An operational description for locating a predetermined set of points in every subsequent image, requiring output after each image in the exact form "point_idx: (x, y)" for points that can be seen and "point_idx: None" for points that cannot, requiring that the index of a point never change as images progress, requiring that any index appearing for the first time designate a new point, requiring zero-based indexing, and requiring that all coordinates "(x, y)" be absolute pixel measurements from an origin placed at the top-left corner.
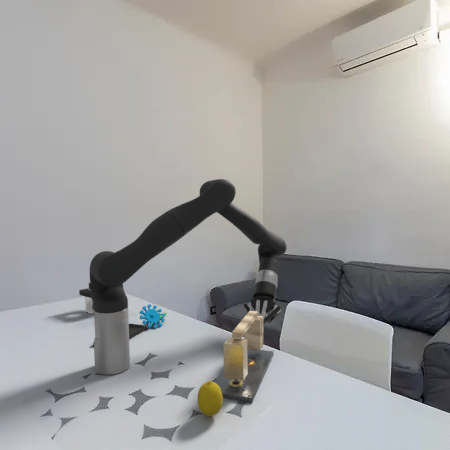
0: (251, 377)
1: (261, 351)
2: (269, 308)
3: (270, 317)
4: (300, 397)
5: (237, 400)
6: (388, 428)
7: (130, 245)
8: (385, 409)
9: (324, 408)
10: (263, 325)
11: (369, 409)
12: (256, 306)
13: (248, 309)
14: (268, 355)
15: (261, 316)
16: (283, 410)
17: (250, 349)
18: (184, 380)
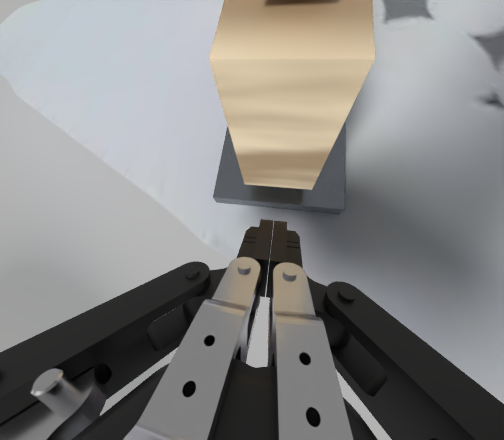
0: None
1: (254, 189)
2: (125, 397)
3: (170, 273)
4: (169, 42)
5: None
6: (65, 13)
7: None
8: (45, 47)
9: (136, 27)
10: (240, 250)
11: (68, 41)
12: (344, 434)
13: (455, 397)
14: (229, 164)
15: (224, 51)
16: (201, 9)
17: (295, 198)
18: (423, 36)
